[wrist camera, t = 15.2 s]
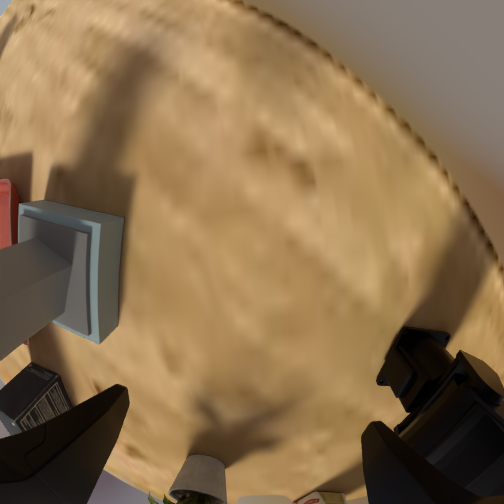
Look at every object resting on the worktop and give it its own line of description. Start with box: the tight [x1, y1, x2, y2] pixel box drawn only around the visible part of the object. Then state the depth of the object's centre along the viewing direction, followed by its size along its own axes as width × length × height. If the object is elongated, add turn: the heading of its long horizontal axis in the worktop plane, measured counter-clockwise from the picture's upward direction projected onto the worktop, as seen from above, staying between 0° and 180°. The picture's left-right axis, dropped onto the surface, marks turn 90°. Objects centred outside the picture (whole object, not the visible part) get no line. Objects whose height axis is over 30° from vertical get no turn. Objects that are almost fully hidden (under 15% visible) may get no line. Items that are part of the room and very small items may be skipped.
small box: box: [0, 362, 73, 435], centre depth 21 cm, size 11×6×10 cm, turn 177°
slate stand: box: [18, 200, 124, 344], centre depth 19 cm, size 10×10×4 cm
